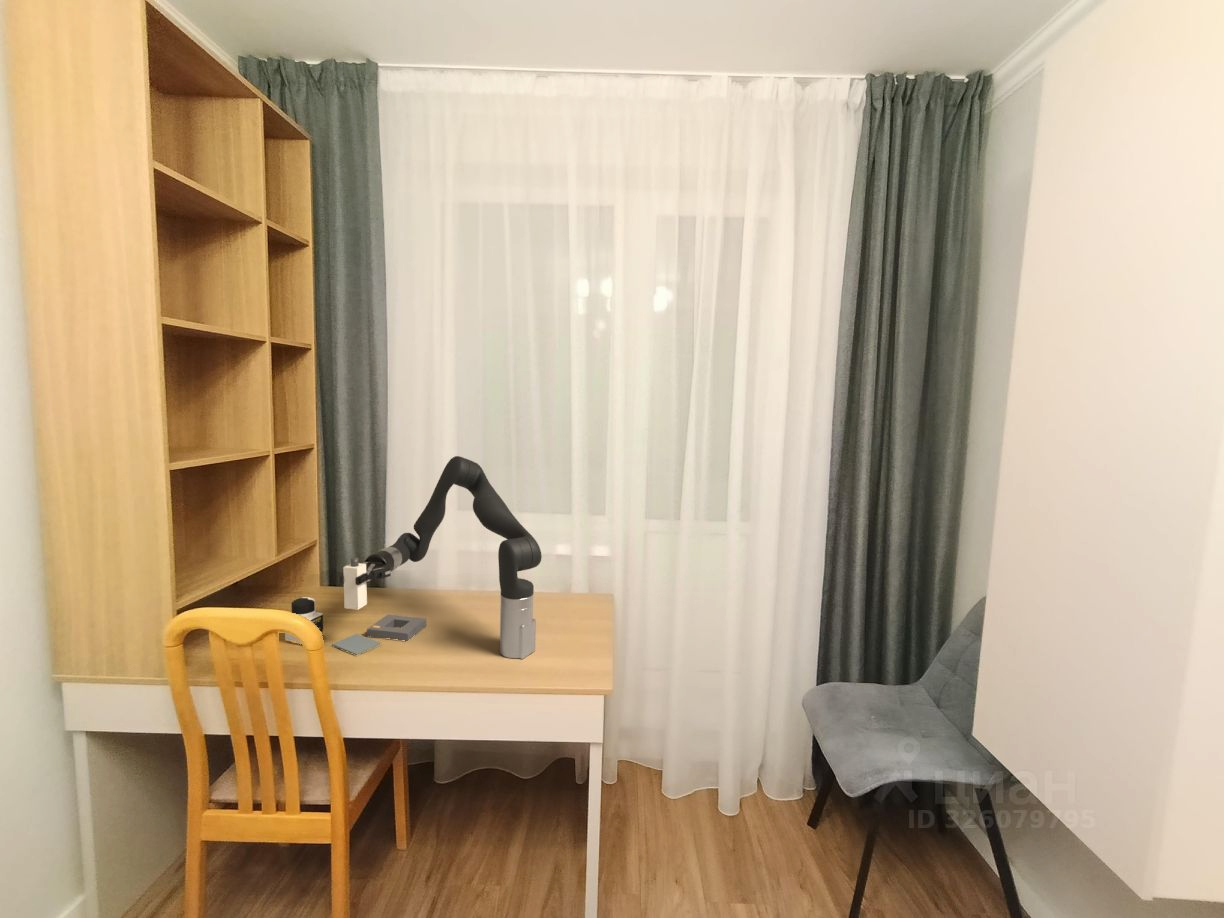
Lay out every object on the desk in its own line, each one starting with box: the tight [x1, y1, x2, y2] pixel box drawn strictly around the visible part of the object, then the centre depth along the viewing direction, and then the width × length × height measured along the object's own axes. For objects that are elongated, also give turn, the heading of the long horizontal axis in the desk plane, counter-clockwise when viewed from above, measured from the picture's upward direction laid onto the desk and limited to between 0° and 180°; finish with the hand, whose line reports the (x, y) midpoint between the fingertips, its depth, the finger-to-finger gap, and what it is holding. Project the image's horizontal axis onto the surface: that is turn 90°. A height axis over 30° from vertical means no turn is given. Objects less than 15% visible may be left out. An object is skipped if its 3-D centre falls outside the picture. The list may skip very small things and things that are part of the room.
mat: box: [331, 633, 382, 656], centre depth 159 cm, size 11×8×1 cm
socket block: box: [366, 614, 427, 642], centre depth 169 cm, size 13×11×3 cm
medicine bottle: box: [284, 596, 324, 646], centre depth 162 cm, size 7×7×12 cm
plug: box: [342, 557, 368, 611], centre depth 157 cm, size 4×4×14 cm
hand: (349, 580), depth 154 cm, fingers closed on plug, 4 cm apart
